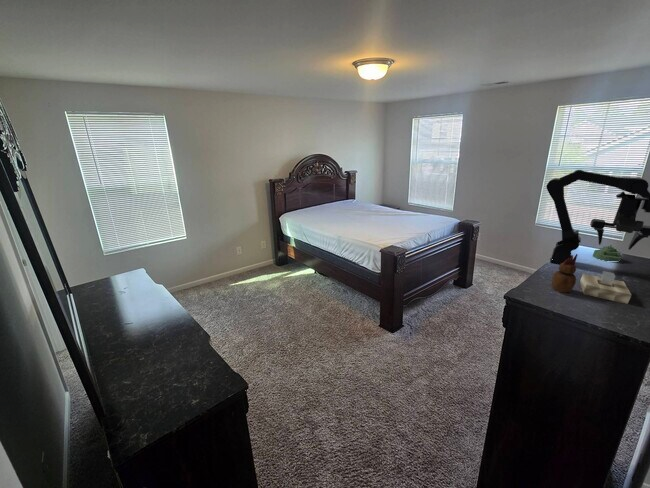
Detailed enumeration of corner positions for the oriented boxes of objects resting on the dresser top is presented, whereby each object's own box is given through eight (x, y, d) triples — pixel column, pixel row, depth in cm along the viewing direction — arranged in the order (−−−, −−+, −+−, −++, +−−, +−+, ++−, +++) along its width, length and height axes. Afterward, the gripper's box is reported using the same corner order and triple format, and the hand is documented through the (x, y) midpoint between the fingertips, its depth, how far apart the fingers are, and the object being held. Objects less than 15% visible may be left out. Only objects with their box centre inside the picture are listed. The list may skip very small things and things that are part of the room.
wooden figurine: (567, 288, 116) (579, 252, 110) (573, 295, 110) (586, 258, 105) (547, 285, 118) (558, 250, 112) (552, 292, 112) (563, 255, 107)
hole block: (583, 294, 111) (586, 285, 110) (579, 282, 121) (582, 273, 119) (627, 304, 105) (631, 294, 104) (619, 290, 114) (623, 281, 113)
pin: (597, 293, 112) (604, 274, 110) (596, 290, 115) (603, 271, 112) (607, 295, 111) (615, 276, 108) (606, 292, 113) (613, 273, 111)
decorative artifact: (618, 257, 146) (591, 253, 152) (623, 244, 144) (596, 240, 149) (621, 264, 139) (593, 259, 144) (627, 250, 136) (598, 245, 142)
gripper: (599, 210, 119) (586, 247, 124) (666, 218, 109) (650, 258, 114) (596, 205, 127) (584, 240, 133) (658, 212, 117) (643, 249, 122)
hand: (613, 246), depth 125 cm, fingers open, 9 cm apart
